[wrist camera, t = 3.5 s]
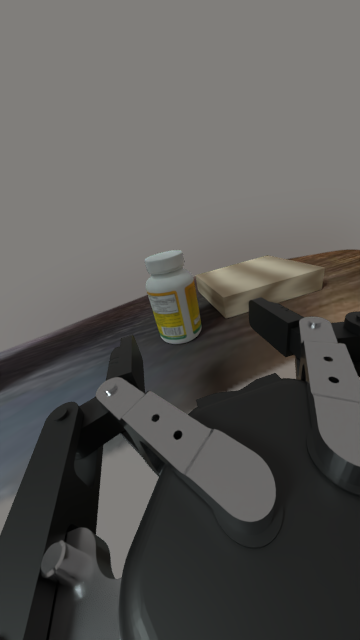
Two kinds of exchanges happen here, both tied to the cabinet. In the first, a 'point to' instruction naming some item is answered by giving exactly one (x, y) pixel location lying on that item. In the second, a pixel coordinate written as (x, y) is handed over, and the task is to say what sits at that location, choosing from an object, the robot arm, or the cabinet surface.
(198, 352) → the cabinet surface
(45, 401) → the cabinet surface
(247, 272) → the birch base
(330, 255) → the cabinet surface
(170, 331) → the supplement bottle
